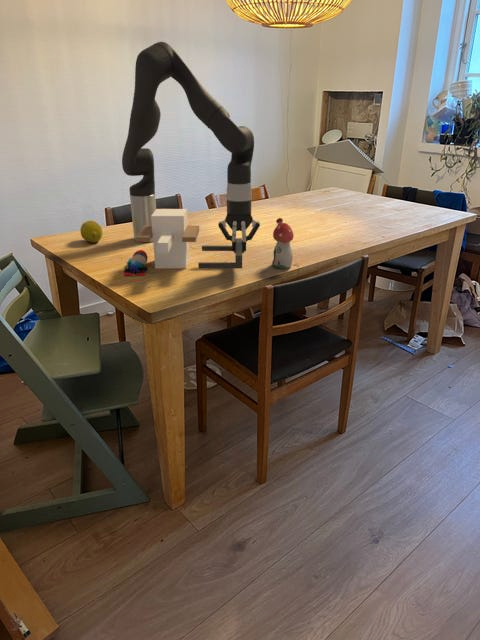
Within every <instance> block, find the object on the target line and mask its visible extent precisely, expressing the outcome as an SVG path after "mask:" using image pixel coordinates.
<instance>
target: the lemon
mask: <svg viewBox="0 0 480 640" xmlns="http://www.w3.org/2000/svg"><path fill="white" fill-rule="evenodd" d="M80 236H81V237H82V239H83V240H84V241H86V242H88V243H92V244H93V243H94V244H95V243H97V242H99V241H100V240H101V239H102V238H103V229H102V227H101V225H100V224H99V223H98V222H96V221H93V220H87V221H85V222H82V225H81V226H80Z"/></svg>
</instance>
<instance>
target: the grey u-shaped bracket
mask: <svg viewBox="0 0 480 640" xmlns="http://www.w3.org/2000/svg"><path fill="white" fill-rule="evenodd" d="M201 251H202V252H233V251H232V245H201ZM234 254H235V260H234V262H226V261H225V262H223V261H222V262H216V261H215V262H213V261H212V262H203V261H202V262H198V267H197V268H198V269H243V253H242V237H239V238H238V237H236V253H234Z"/></svg>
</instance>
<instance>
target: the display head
mask: <svg viewBox="0 0 480 640" xmlns="http://www.w3.org/2000/svg"><path fill="white" fill-rule="evenodd" d="M151 222H152V226H144V227H143V228H142V229H141V231H140V232H139V233H138V235H137V236H136V241H135V243H151V242H150V240H151V239H152V237H153V241H152V244H153V254H154V255H153V257H154V269H187V267H188V264H189V260H190V248H189V247H190V246H189V245H190V244H189V243H196V242H197V239H198V235H199V232H200V225H188V224H189V222H188V208H156V210H155V211H154V213H153V214H152V215H151Z"/></svg>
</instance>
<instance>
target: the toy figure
mask: <svg viewBox="0 0 480 640" xmlns="http://www.w3.org/2000/svg"><path fill="white" fill-rule="evenodd" d="M148 258H149V257H148V254H147V252H146V251H145V250H143V249H139V250H136V251H135V252H134V253H133V255H132V256H131V257H130V258H129V259H128V260H127V262H126V265H127V268H124V269H123V271H124V272H123V274H124V275H123V276H124V277H132V276H133V277H145V275H146V271H148V266H145V265H146V264H147V262H148ZM143 271H144V272H143ZM139 272H141V273H139Z"/></svg>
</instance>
